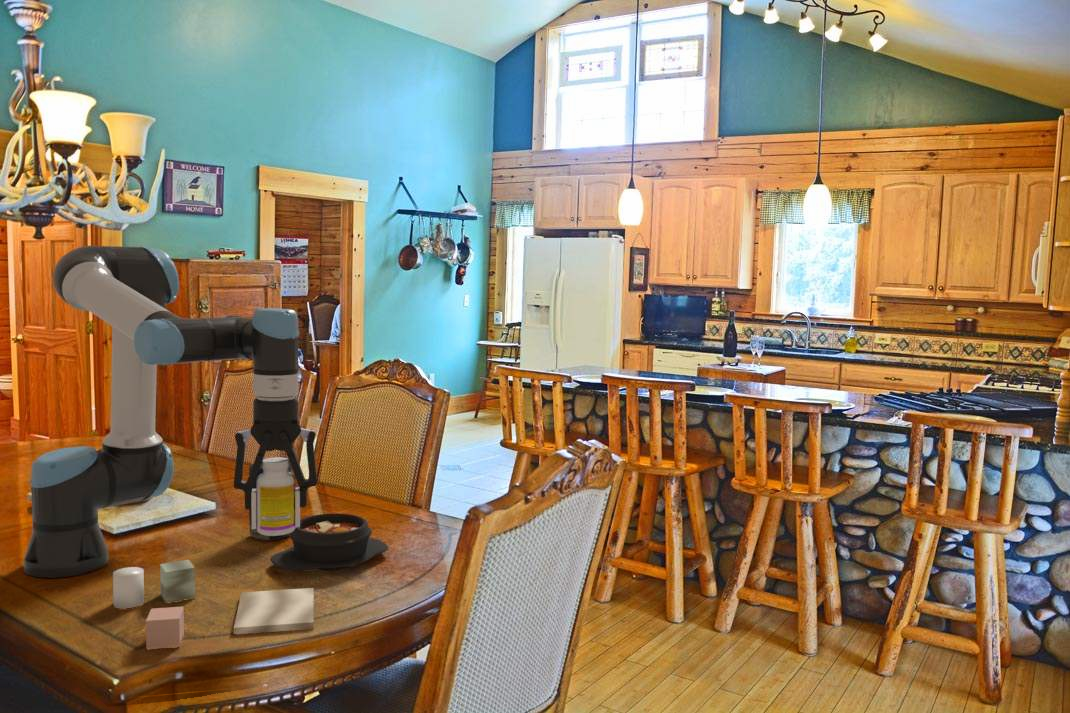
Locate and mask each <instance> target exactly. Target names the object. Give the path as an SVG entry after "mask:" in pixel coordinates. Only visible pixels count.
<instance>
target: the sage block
mask: <svg viewBox="0 0 1070 713" xmlns="http://www.w3.org/2000/svg"><path fill="white" fill-rule="evenodd" d="M159 566H160V568H159V570H160V595H162V596H161V597H163V598H162V600H163V601H164V600H165V601H164V602H166V603H168V602H174V601H180V600H184V599H191V600H193V599H192V598H195V599H196V576H195V575H196V570H195V566H194V564H193V563H192V562H191V561H190V559H184V560H178V561H172V562H165V563H160V564H159ZM180 602H181V601H180ZM166 603H165V604H166ZM174 603H175V602H174Z"/></svg>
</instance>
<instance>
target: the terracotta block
mask: <svg viewBox="0 0 1070 713" xmlns="http://www.w3.org/2000/svg"><path fill="white" fill-rule="evenodd" d="M184 610H185V608H184V606H174V607H173V606H171V607H170V606H169V607H158V608H157V607H156V608H151V609H150V610H149V613H148V616H147V617H146V620H145V642H146V643H145V644H146V646H145V648H150V647H151V648H153V647H163V646H171V645H174V646H175V645H180V643H181V640H182V637H183V635H184V636H185V618H184V617H185V616H184V615H185V611H184ZM183 638H184V637H183ZM182 641H183V640H182ZM181 644H182V643H181Z"/></svg>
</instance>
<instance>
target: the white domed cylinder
mask: <svg viewBox="0 0 1070 713" xmlns="http://www.w3.org/2000/svg"><path fill="white" fill-rule="evenodd" d="M144 572H145V570H144V568H143V567H139V566H128V567H122V568H118V569H117V570H114V571H113V573H112V584H113V586H112V589H113V590H112V592H113V608H115V607H116V608H115V609H117V608H123V609H122V610H125V609H124V608H132V607H136V606H139V605H141V604H142V605H144V604H145V585H144V583H145V579H144V576H145V575H144ZM142 605H141V606H142ZM139 607H140V606H139ZM136 608H137V607H136ZM132 609H133V608H132Z"/></svg>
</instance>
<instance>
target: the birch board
mask: <svg viewBox="0 0 1070 713" xmlns="http://www.w3.org/2000/svg"><path fill="white" fill-rule="evenodd" d="M314 590H315V589H314V587H306V588H291V589H290V588H288V589H278V590H277V589H275V590H260V591H243V592H241V594H240V598H239V602H238V605H237V606H238V607H237V612H236V616H235V620H234V625H233V635H234V634H236V635H246V634H247V635H249V633H250V634H260V632H261V634H262V632H263V633H273V632H288V631H289V632H291V631H301V630H303V631H305V630H314V626H315V625H314V616H315V615H314V614H315V612H314V607H315V606H314V605H315V604H314V603H315V602H314V599H315V598H314V595H315V592H314ZM290 630H291V631H290Z"/></svg>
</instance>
